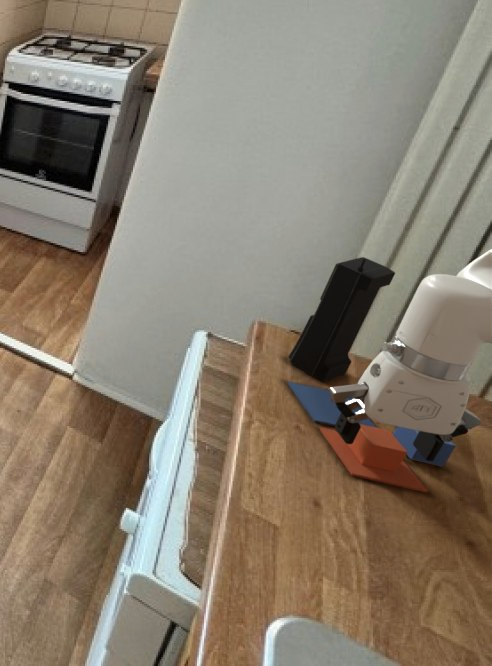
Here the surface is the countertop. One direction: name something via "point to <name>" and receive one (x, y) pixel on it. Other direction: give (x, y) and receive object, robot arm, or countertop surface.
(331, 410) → the slate mat
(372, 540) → the countertop surface
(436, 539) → the countertop surface
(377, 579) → the countertop surface
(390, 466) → the terracotta block
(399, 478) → the terracotta mat
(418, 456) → the slate block
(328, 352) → the tall black tower box
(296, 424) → the countertop surface
